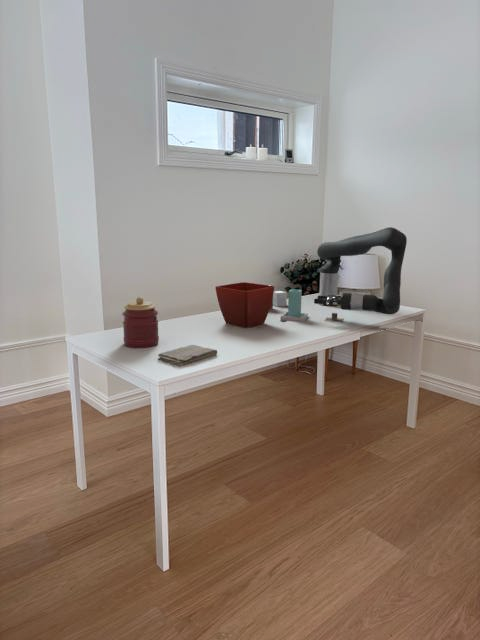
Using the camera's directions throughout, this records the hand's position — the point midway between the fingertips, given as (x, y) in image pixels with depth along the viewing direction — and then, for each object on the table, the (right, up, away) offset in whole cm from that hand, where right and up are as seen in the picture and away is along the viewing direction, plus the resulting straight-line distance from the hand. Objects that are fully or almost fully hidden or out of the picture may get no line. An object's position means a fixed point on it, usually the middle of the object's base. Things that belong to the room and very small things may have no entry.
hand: (315, 299), depth 216 cm
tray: (-9, -9, +5) cm, 14 cm away
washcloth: (-52, -23, -53) cm, 78 cm away
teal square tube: (-9, -8, +5) cm, 14 cm away
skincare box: (-14, -2, +39) cm, 41 cm away
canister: (-71, -18, -37) cm, 83 cm away
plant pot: (-32, -11, -4) cm, 34 cm away
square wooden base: (+9, -10, +3) cm, 13 cm away
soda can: (-21, -4, +29) cm, 36 cm away
